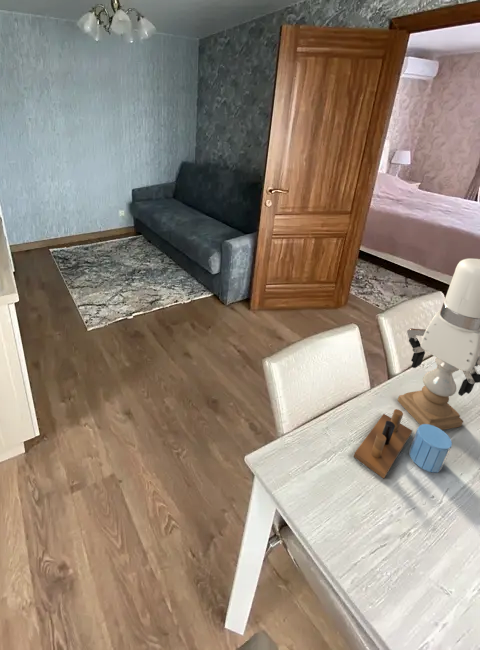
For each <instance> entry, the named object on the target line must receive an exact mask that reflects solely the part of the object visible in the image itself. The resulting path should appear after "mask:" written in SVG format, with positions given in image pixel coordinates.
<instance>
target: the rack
mask: <svg viewBox="0 0 480 650" xmlns="http://www.w3.org/2000/svg"><path fill="white" fill-rule="evenodd" d="M403 416H404V413H403V411H402V410H401V409H398V408H396V409H394V410H393V412H392V416H391V417H390V416H389V415H387V414H386V413H383V414H382V415H381V417H380V418H379V419H378V421H377V422H376V423H375V425H374V426H373V428H372V429H371V430H370V431H369V433H368V434H367V435H366V437H365V438H364V439H363V441H362V442H361V444H360V445H359V446H358V448H357V449H356V450H355V452H354V454H353V458H354V459H356V460H357V461H358V462H360V463H361V464H363V465H364V466H365V467H366V468H368V469H369V470H371V471H372V472H373V473H375V474H377V475H378V476H379V477H380V478H382V479H385V478H386V477H387V475H388V473H389V471H390V470H391V468H392V466H393V465H394V463H395V462H396V460H397V458H398V457H399V455H400V453H401V451H402V450H403V448H404V447H405V445H406V444H407V443H408V440H409V438H410V437H411V435H412V433H413V430H412V429H410V428H409V427H407V426H406V425H404V424H402V423H401V421H402V419H403Z"/></svg>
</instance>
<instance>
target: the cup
mask: <svg viewBox="0 0 480 650" xmlns="http://www.w3.org/2000/svg"><path fill="white" fill-rule="evenodd" d="M452 445H453V442H452V439H451V437H450V436H449V435H448V434H447V433H446V432H445V430H441V429H439V428H437V427H435V426H433V425H429V424H422V425H420V424H419V426H418V427H417V429H416V431H415V434H414V437H413V439H412V442H411V444H410V446H409V449H408V452H409V453H408V455H409V457H410V459H411V460H412V462H413V463H414V464H415V465H417V466H418V467H419V468H420V469H422V470H424V471H426V472H428V473H439V472H440V471H442V469H443V467H444V465H445V463H446V460H447V458H448V456H449V453H450V451H451V450H452Z"/></svg>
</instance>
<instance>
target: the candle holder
mask: <svg viewBox="0 0 480 650" xmlns="http://www.w3.org/2000/svg"><path fill="white" fill-rule="evenodd" d="M434 360H435V364H436V368H434V369H432V370H430V371H428V372H426V373H425V374H424V375H423V376H422V377H423V378H422V383H423V387H422V388H421V390H415V391H410V392H406V393H404V394H400V395H399V396H398V398H397V402H398V403H399V404H400V406H402V407H403V409H404V410H405V411H406V412H407V413H408V414H409V415H410V416H411V417H412V418H413V419H414V420H415V421H416V422H417V423H418V424H419V426H420V425H422V424H429V425H433V426H435V427H437V428H439V429H441V430H442V431H445V430H449V429H456V428H460V427H462V426H463V423H464V420H463V419H462V418H461V415H460V413H459V412H458V411H457V410H456V409H455V408H454V407H453V406H451V405H450V404H449V401H450V397H452V396H454V395H455V394H456V392H457V383H456V382H455V380H454V379H455V378H454V377H453V374H454V373H456V372H459V370H460V369H458V368H456V367H454V366H452V365H450V364H448V363H446V362H444V361H443V360H441V359H439V358H437V357H435V359H434Z"/></svg>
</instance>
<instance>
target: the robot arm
mask: <svg viewBox="0 0 480 650" xmlns="http://www.w3.org/2000/svg"><path fill="white" fill-rule="evenodd" d="M406 332H407V336H408V342H409V344H410V346H411V348H412V352H413V354H412V357H411V362H412V364H411V368H412V369H416V368H418V367H420V366H421V365H422V363H423V360H424V357H425V354H426V353H428V354H430V355H432V356H433V357H435V358H439V359H441V360H443V361H444V362H446V363H448V364H450V365H452V366H454V367H456V368H458V369H459V370H460V371H462V372H463V375H464V377H465V379H464V380H463V381H462V382H461V386H460V387H459V389H458V392H457V394H458V396H460V397H463V396H464V395H465V394H466V393H467V394H468V395H469V394H470V393H471V392H472V391H473V389H474V387H475V385H476V384H479V383H480V373H479V372H478V369H477V368H478V366H480V258H464V259H461V260H459V262H458V263H457V265H456V267H455V269H454V273H453V275H452V278H451V281H450V284H449V287H448V289H447V292H446V295H445V298H444V301H443V303H442V306H441V309H439V310H438V311H436V313H434V316H433V317H432V318H431V320H430V322H429V323H428V325H427V327H426V329H423V328H412V327H411V328H409V329H407V330H406ZM417 336H418V337H419V336H420V337H421V340H420V341H419V339H418V338H417Z"/></svg>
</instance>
